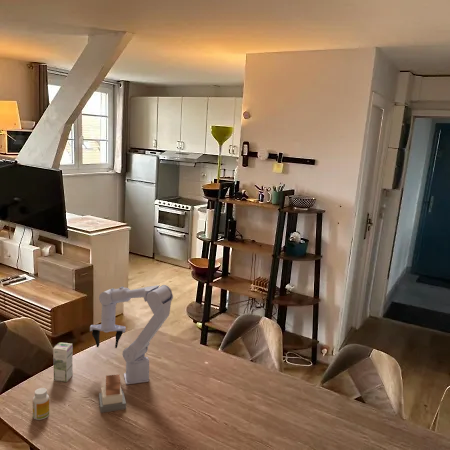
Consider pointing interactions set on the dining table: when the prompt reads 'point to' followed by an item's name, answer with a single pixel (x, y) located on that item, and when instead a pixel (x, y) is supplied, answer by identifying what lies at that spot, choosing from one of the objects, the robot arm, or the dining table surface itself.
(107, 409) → the bottom slab
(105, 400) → the top slab
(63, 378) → the syrup box
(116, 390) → the terracotta cube
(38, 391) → the supplement bottle
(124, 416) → the dining table surface
